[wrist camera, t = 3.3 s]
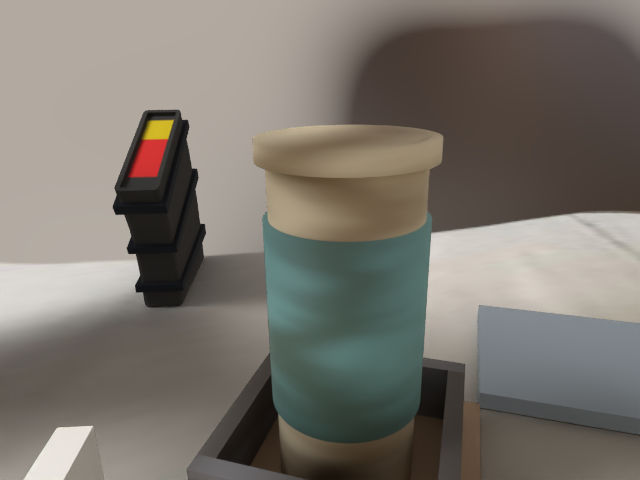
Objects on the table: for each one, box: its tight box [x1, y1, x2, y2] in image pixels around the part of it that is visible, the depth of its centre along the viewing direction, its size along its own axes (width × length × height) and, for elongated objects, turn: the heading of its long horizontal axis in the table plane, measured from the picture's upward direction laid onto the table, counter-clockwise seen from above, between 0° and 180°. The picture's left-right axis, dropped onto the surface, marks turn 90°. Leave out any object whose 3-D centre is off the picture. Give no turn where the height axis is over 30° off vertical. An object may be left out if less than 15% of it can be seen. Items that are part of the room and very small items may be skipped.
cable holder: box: [187, 353, 481, 480], centre depth 22 cm, size 12×12×4 cm
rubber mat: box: [478, 305, 640, 435], centre depth 31 cm, size 11×11×1 cm
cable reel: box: [252, 125, 443, 480], centre depth 20 cm, size 7×7×15 cm
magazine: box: [113, 110, 206, 306], centre depth 43 cm, size 4×13×15 cm, turn 3°
